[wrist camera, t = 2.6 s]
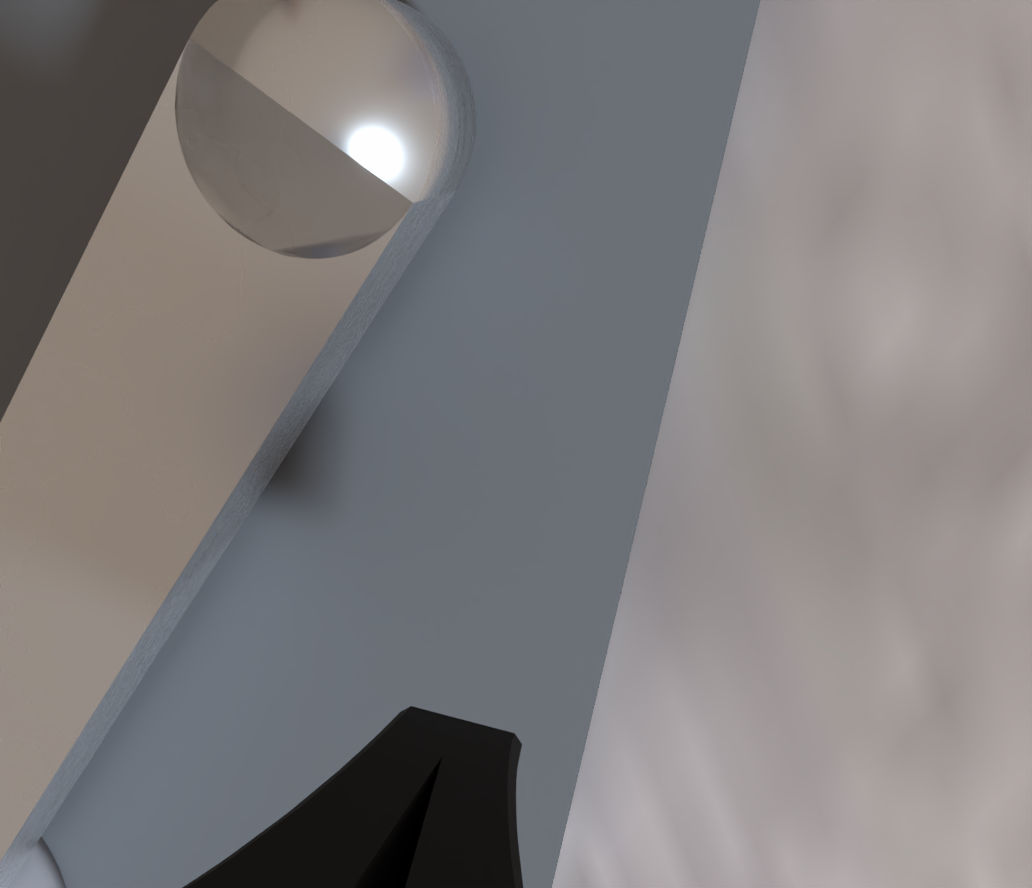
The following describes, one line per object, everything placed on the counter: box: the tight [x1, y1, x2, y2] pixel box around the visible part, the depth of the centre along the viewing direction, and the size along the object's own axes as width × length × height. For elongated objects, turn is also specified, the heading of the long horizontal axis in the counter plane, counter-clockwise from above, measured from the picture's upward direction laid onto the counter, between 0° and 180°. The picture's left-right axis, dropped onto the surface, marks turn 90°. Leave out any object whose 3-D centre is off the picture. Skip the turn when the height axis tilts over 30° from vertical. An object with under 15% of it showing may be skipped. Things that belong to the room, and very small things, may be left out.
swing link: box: [0, 0, 476, 888], centre depth 15 cm, size 21×4×2 cm, turn 145°
